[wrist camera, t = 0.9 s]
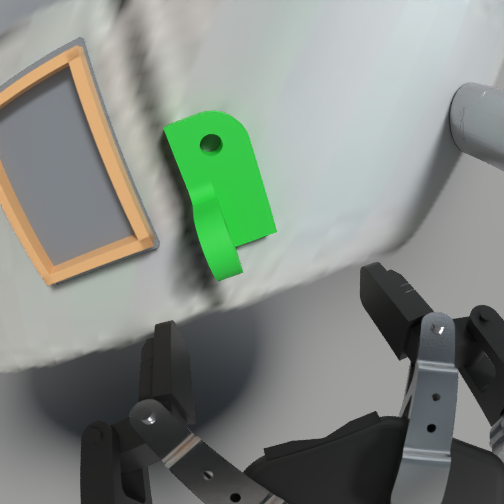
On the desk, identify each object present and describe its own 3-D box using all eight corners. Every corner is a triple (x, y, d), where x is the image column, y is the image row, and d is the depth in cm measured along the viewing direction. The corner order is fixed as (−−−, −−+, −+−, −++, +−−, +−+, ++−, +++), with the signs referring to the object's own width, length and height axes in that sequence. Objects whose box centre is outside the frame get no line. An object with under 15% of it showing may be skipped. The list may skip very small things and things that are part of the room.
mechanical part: (271, 222, 30) (298, 268, 23) (212, 243, 30) (222, 295, 23) (234, 101, 23) (254, 107, 17) (165, 125, 23) (156, 142, 17)
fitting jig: (83, 38, 17) (73, 34, 15) (159, 241, 28) (158, 255, 26) (-21, 106, 17) (-36, 109, 15) (59, 279, 28) (52, 293, 26)
